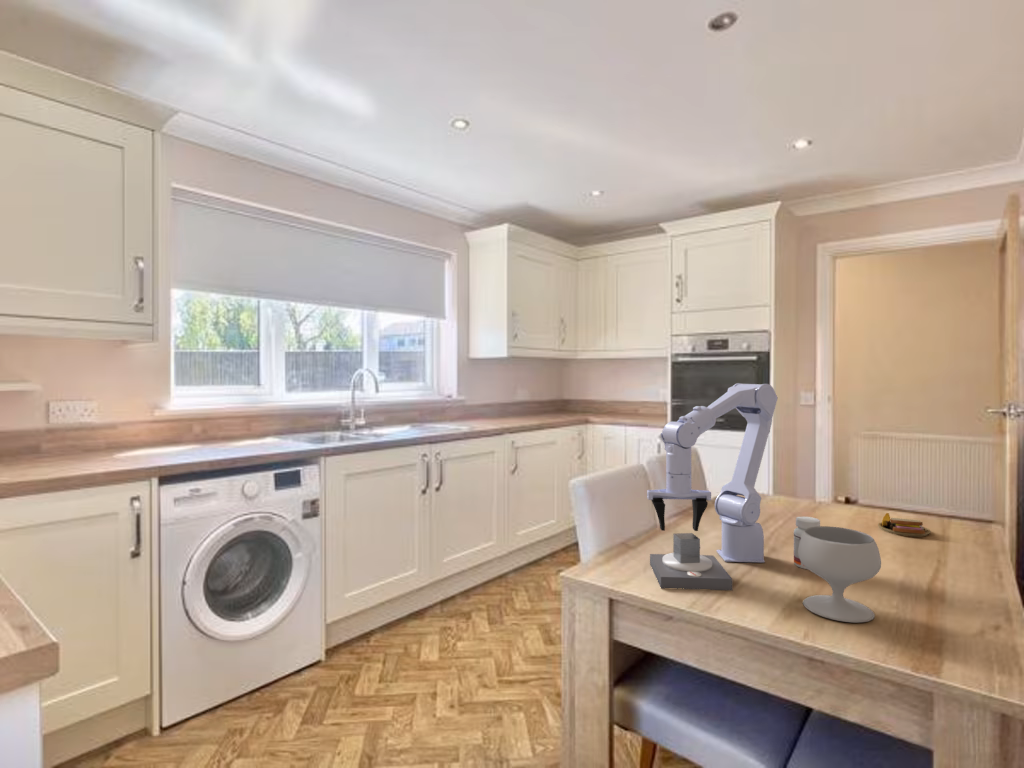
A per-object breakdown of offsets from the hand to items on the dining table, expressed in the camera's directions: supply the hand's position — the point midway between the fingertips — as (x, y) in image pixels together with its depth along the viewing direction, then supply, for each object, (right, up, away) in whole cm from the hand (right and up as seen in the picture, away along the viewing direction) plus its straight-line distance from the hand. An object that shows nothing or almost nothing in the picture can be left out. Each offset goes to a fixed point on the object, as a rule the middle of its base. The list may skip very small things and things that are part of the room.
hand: (678, 529), depth 131 cm
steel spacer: (+1, -6, -3) cm, 7 cm away
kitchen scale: (+1, -10, -5) cm, 11 cm away
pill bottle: (+31, -9, +2) cm, 33 cm away
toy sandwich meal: (+74, -9, +29) cm, 80 cm away
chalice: (+24, -10, -23) cm, 35 cm away
